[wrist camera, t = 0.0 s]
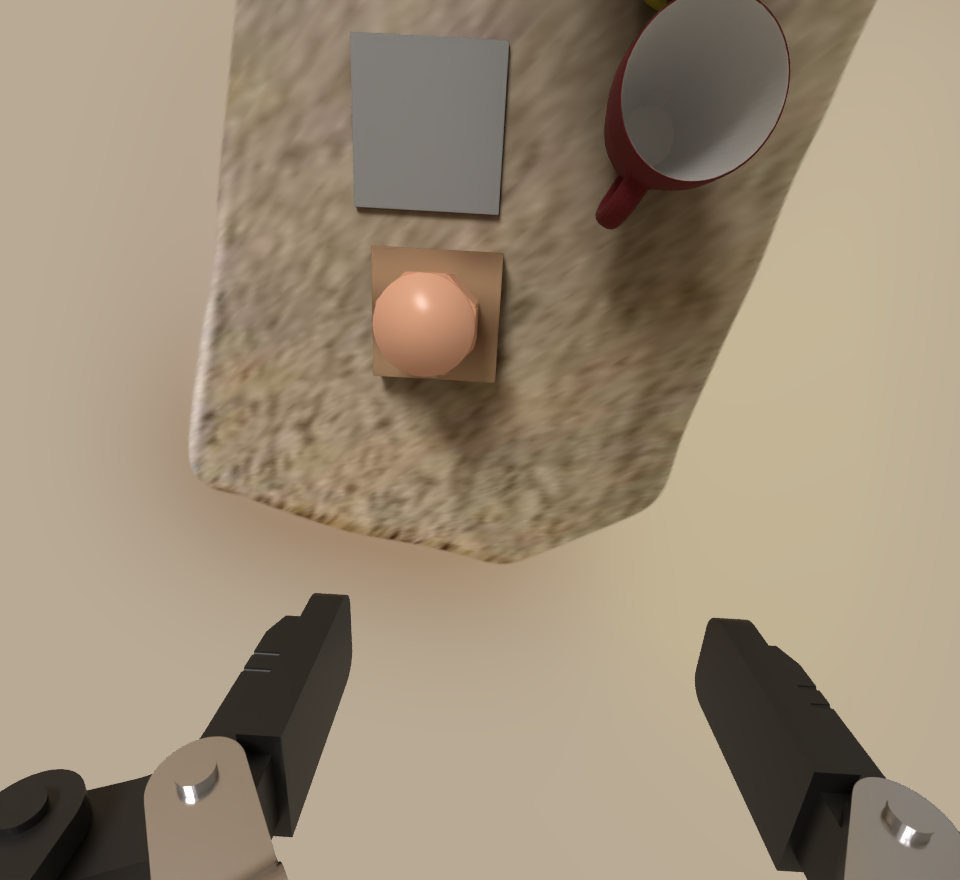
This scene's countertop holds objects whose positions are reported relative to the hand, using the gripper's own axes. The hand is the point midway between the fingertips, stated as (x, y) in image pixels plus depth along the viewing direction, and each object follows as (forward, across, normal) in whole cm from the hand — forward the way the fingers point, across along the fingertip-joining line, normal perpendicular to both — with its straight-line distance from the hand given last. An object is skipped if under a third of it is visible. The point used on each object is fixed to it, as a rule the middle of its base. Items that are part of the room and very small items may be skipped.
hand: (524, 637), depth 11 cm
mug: (+30, -8, -15) cm, 34 cm away
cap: (+27, +5, -4) cm, 28 cm away
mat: (+29, +6, -16) cm, 34 cm away
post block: (+29, +5, -4) cm, 30 cm away
